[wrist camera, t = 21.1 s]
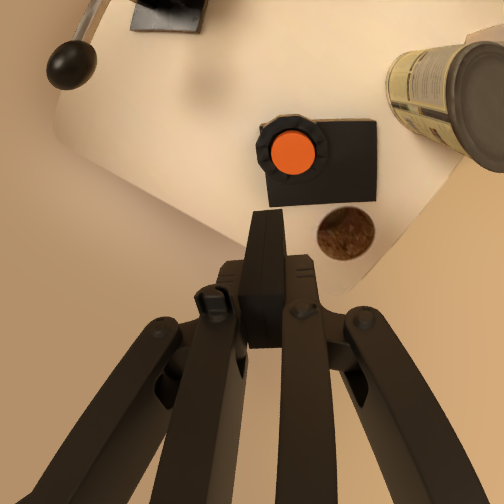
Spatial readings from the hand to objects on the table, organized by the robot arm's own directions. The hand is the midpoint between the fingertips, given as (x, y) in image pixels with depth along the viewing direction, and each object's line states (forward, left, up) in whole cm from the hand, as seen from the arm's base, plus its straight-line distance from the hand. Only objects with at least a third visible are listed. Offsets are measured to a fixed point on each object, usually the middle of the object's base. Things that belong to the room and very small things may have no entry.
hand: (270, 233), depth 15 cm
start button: (+2, +1, -15) cm, 15 cm away
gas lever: (-10, +16, -6) cm, 20 cm away
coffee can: (+18, +7, -18) cm, 27 cm away
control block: (+5, -1, -18) cm, 19 cm away
